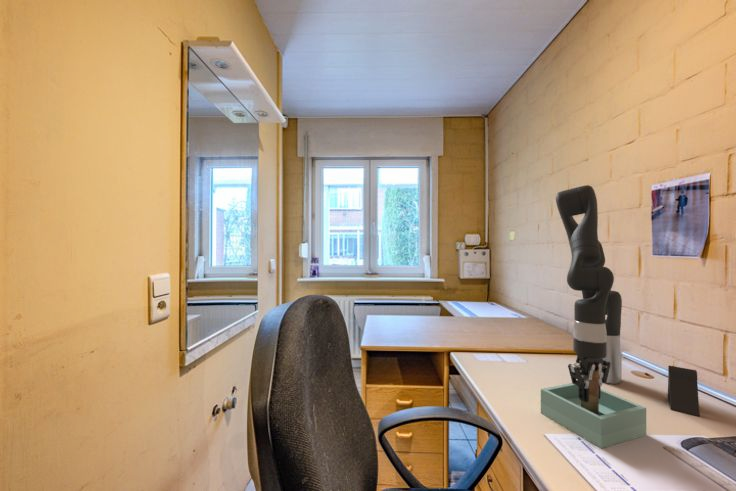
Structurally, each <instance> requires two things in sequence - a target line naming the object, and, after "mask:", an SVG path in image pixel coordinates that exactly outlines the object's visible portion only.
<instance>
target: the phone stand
mask: <svg viewBox="0 0 736 491" xmlns="http://www.w3.org/2000/svg"><path fill="white" fill-rule="evenodd" d="M667 368H668V373H667V374H668V379H667V381H668V382H667V401H668V404H669V408H670V410H671V411H675V412H678V413H679V412H680V413H684V414H688V415H691V416H697V417H700V404H699V403H700V402H699V388H698V387H699V386H698V371H697V370H696V369H690V368H685V367H680V366H675V365H668V366H667Z"/></svg>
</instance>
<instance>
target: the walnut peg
mask: <svg viewBox="0 0 736 491" xmlns="http://www.w3.org/2000/svg"><path fill="white" fill-rule="evenodd" d="M581 374H582V375H584V376H587V375H586V374H583V373H582V372H581ZM582 379H583V378H582ZM584 381H585V379H583V383H584ZM588 389H589V401H588V402H584V401H582V400H581V407H582V408H584V409H586V410H588V411H590V412H593V413H595V414H597V415H599V371H597V370H596V371H593V375H592V380H591V381H589V386H588Z"/></svg>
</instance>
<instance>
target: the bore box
mask: <svg viewBox="0 0 736 491" xmlns="http://www.w3.org/2000/svg"><path fill="white" fill-rule="evenodd" d="M540 413H541V414H542V415H543V416H546V417H547V418H549V419H551V420H552V421H554V422H556V423H558V424H559V425H561V426H562V427H564V428H565V429H568V430H569V431H571V432H573V433H575V434H576V435H578V436H580V437H582V438H583V439H584V440H586V441H588V442H589V443H591V444H593V445H595V446H596V447H598V448H599V449H605V448H607V447H610V446H614V445H617V444H620V443H624V442H627V441H631V440H634V439H637V438H641V437H644V436H647V407H645V406H642V405H640V404H638V403H635V402H634V401H631V400H628V399H626V398H623V397H621V396H619V395H616V394H613V393H611V392H610V391H607V390H604V389H601V395H600V399H599V415H597V414H595V413H593V412H590V411H588V410H586V409H584V408H582V407H581V400H580V399H579V387H578V386H577V385H575V384H573V383H572V382H571V383H570V382H569V383H566V384H561V385H553V386H550V387H549V386H548V387H543V388H540Z"/></svg>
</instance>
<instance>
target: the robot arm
mask: <svg viewBox="0 0 736 491" xmlns="http://www.w3.org/2000/svg"><path fill="white" fill-rule="evenodd" d="M555 203H556V207H557V210H558V213H559V216H560V219H561V221H562V224H563V227H564V229H565V233H566V235H567V240H568V243H569V247H570V248H569V249H570V253H571V261H570V266H569V269H568V271H567V272H568V273H567V275H566V281H567V282H566V283H567V284H568V286H569V287H570V289H572V290H574V291H577V292H578V291H579V292H581V294H582V298H581V299H577V300H575V302H574V306H573V307H574V308H573V309H574V319H573V320H574V321H573V327H572V328H573V329H572V330H573V331H572V332H573V335H572V338H573V340H572V341H573V342H572V343H573V346H572V347H573V349H572V350H573V351H572V352H574V353H575V355H576V360H575V363H573V364H572V363H569V364H568V365H567V368H568V371H569V376H570V378H571V383H573V384H575V385H577V386H578V387H579V399H580V400H582V401H584V402H588V401H589V389H588V386H589V381H591V380H592V375H593V371H596V370H597V371H599V399H600V395H601V387H602V386H603V383H604V384H616V385H617V384H620V383H621V381H622V376H623V374H622V366H623V365H622V354H621V327H622V326H621V325H622V310H623V309H622V307H623V301H622V300H623V299H622V295H621V294H620V292H619V291H616V290H612V288H613V286H614V281H615V277H614V273H613V272H612V270H611V269H610V268H609V267H608V266H605V265H606V257H605V252H604V247H603V246H602V243H601V242H600V240H599V235H598V226H599V224H598V221H599V220H598V217H599V216H598V215H599V214H598V212H599V211H598V198H597V194H596V192H595V190H594V188H593V186H591V185H589V184H588V185H581V186H577V187H574V188H572V187H571V188H570V189H569V188H568V189H565V190H561V191H559V192H557V193H556V194H555ZM583 214H584V216H583V217H582V219H581V221H580V223H578V222H577V221H576V220H575V218H574V216H579V215H583ZM581 372H582V373H583V374H586V375H587V376H584V375H582V374H581ZM582 378H583V379H585V381H584V383H583V379H582Z"/></svg>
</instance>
